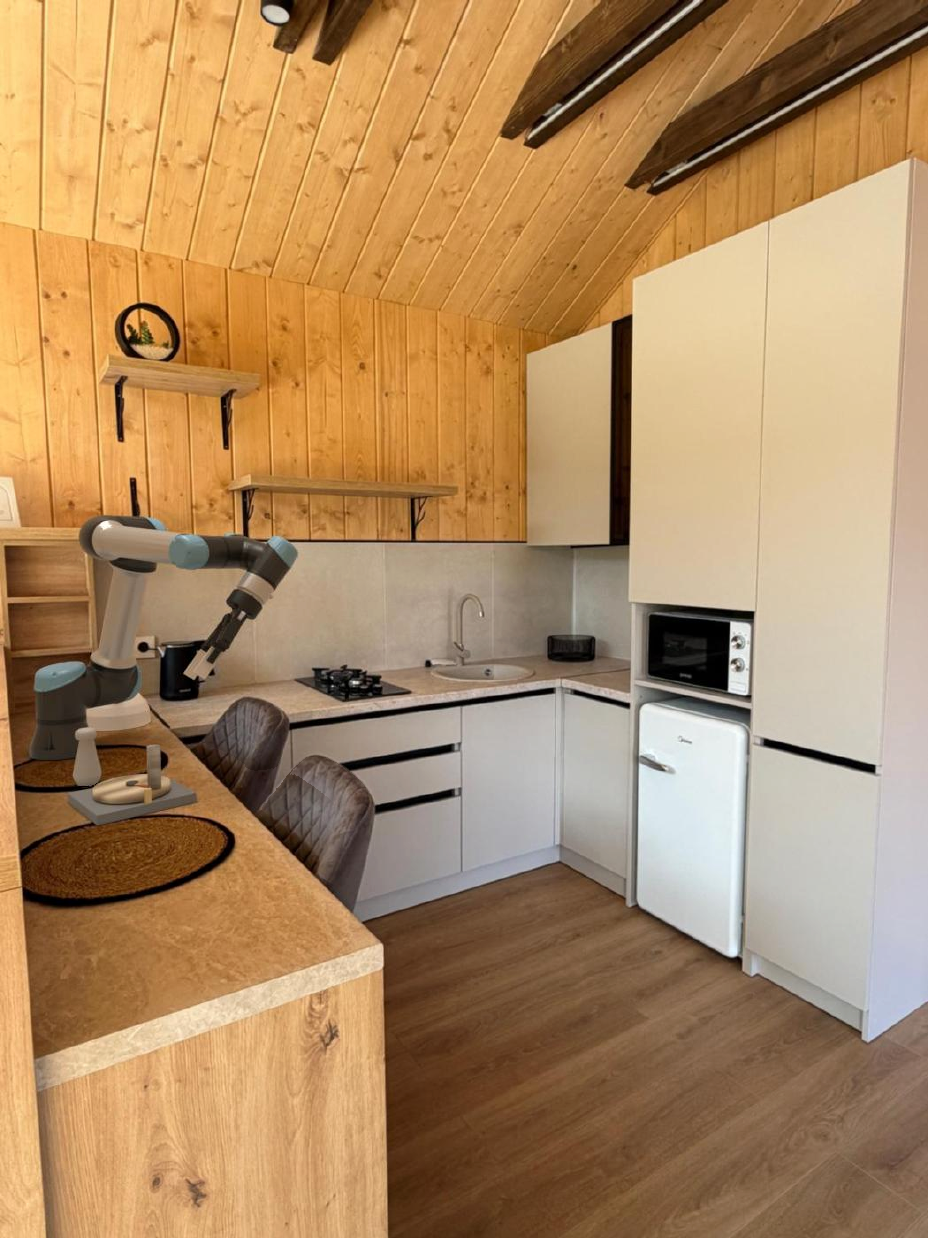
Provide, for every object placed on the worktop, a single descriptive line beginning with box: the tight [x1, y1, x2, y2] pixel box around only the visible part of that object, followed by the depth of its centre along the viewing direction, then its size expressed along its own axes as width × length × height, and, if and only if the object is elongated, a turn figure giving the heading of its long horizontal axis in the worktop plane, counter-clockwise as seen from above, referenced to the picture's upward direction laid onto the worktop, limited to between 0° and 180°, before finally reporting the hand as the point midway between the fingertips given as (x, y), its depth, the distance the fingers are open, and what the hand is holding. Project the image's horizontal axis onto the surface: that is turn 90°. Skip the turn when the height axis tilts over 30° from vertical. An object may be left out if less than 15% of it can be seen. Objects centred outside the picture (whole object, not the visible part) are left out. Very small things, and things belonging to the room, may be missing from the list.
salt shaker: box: [72, 727, 103, 787], centre depth 165 cm, size 6×6×13 cm
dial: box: [92, 744, 171, 804], centre depth 153 cm, size 15×15×10 cm
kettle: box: [86, 692, 152, 732], centre depth 223 cm, size 20×21×18 cm
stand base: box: [67, 773, 198, 827], centre depth 154 cm, size 18×20×5 cm
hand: (193, 676), depth 156 cm, fingers open, 13 cm apart
